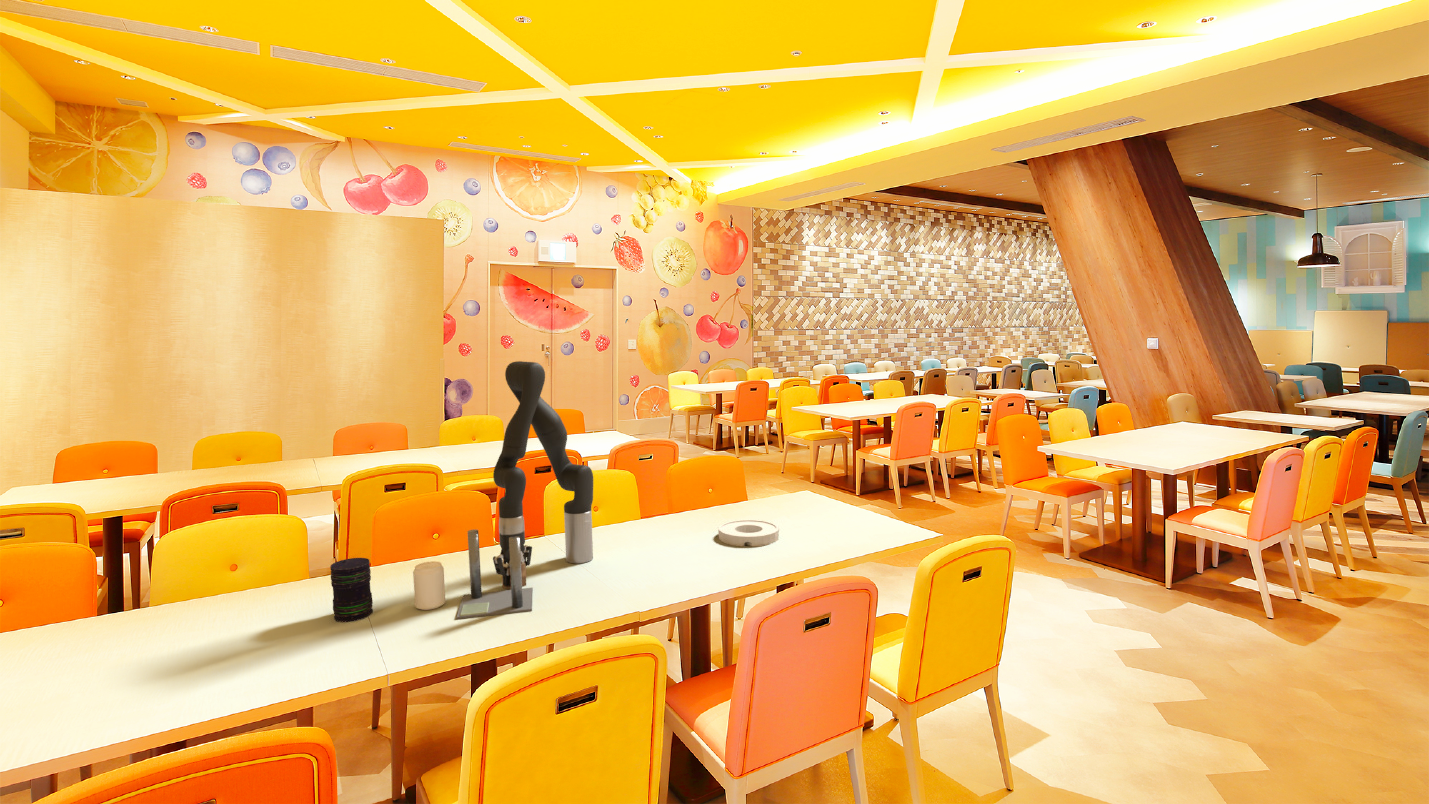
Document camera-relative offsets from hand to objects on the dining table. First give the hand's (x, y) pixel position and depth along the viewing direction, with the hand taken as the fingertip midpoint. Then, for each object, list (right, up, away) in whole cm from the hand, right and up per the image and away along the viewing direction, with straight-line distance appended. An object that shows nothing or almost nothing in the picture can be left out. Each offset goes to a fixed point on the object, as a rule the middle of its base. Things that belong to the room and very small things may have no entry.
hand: (514, 583), depth 210 cm
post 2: (+6, -2, -17) cm, 19 cm away
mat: (-1, -2, -14) cm, 14 cm away
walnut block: (0, -1, 0) cm, 1 cm away
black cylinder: (-39, -4, -20) cm, 44 cm away
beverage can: (-20, -3, -14) cm, 25 cm away
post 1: (-8, -1, -10) cm, 13 cm away
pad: (-5, -2, -19) cm, 20 cm away
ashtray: (+75, +4, +48) cm, 89 cm away
